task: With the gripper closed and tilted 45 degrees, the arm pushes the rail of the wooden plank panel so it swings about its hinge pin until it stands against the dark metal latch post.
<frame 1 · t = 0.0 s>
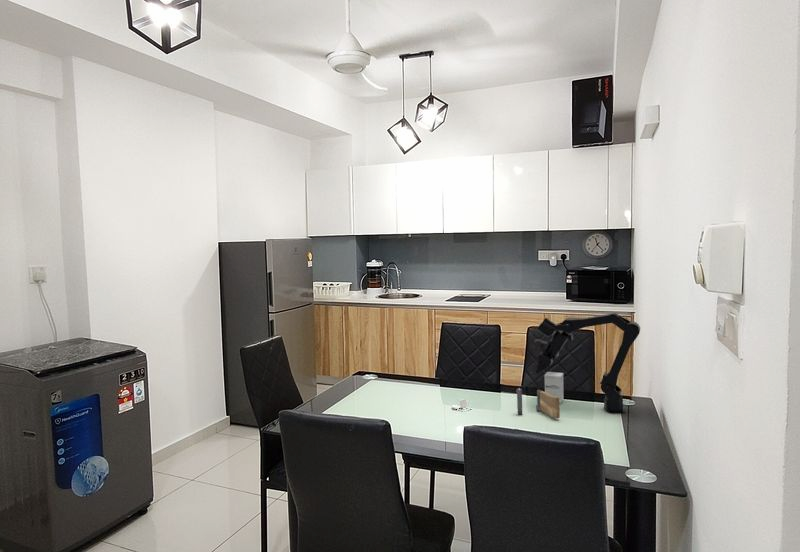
hand: (538, 370, 226), 15 cm above the table, tool tilted 35°, fingers open, 9 cm apart
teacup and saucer: (459, 408, 226), on the table
hinge base: (539, 410, 216), on the table
supplement box: (554, 401, 229), on the table
wooden plank panel: (547, 402, 210), point 5 cm above the table, hinge at 0.0°
latch post: (520, 414, 212), on the table
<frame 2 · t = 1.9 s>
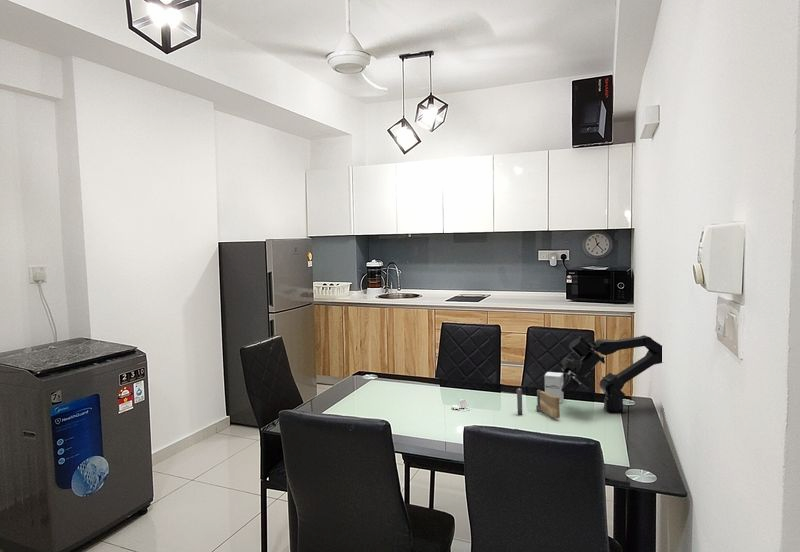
hand: (562, 391, 211), 10 cm above the table, tool tilted 45°, fingers closed
nothing on the table moved.
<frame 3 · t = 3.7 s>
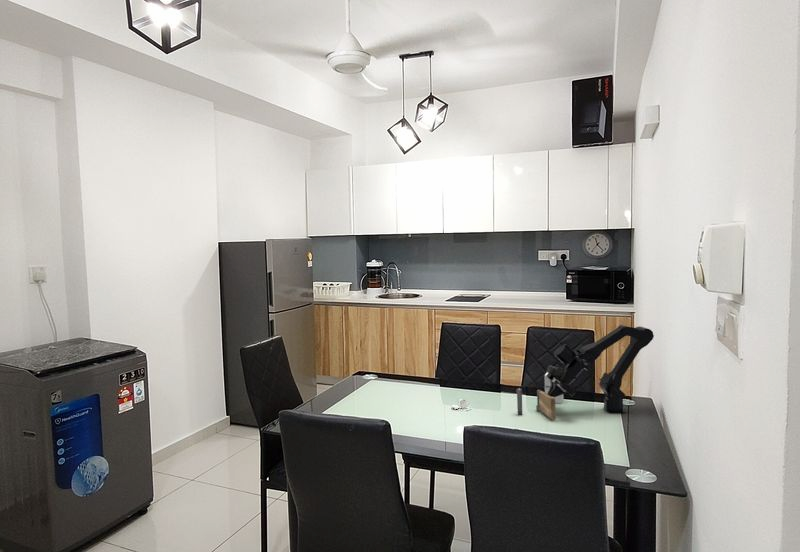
hand: (546, 398, 210), 7 cm above the table, tool tilted 45°, fingers closed, pressing on wooden plank panel
wooden plank panel: (545, 403, 210), point 5 cm above the table, hinge at 8.2°, touching gripper
everything else where it was.
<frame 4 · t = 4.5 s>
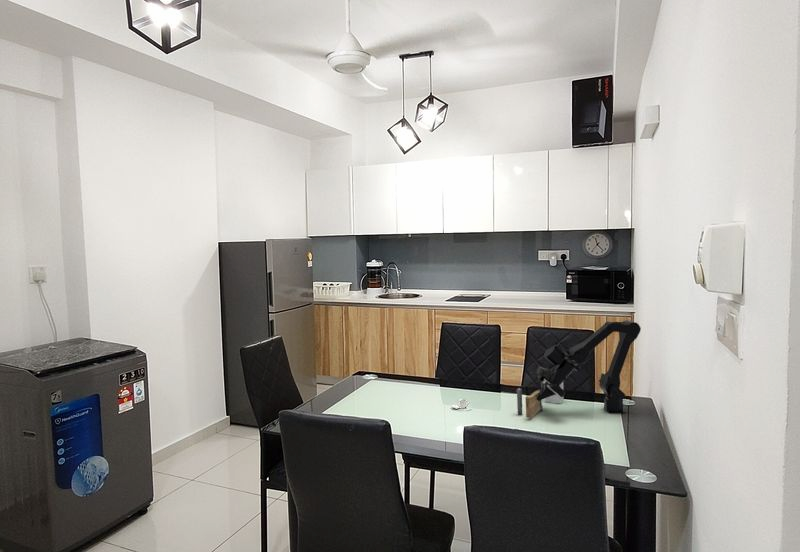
hand: (537, 400, 210), 6 cm above the table, tool tilted 45°, fingers closed
wooden plank panel: (534, 402, 211), point 5 cm above the table, hinge at 50.9°, touching gripper
everything else where it was.
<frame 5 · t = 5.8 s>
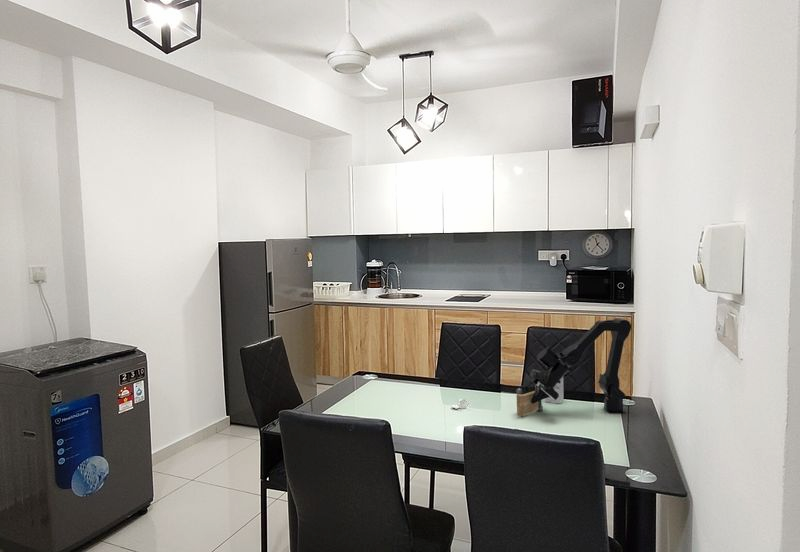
hand: (531, 402, 210), 5 cm above the table, tool tilted 40°, fingers closed
wooden plank panel: (529, 401, 212), point 5 cm above the table, hinge at 69.5°, touching gripper
everything else where it was.
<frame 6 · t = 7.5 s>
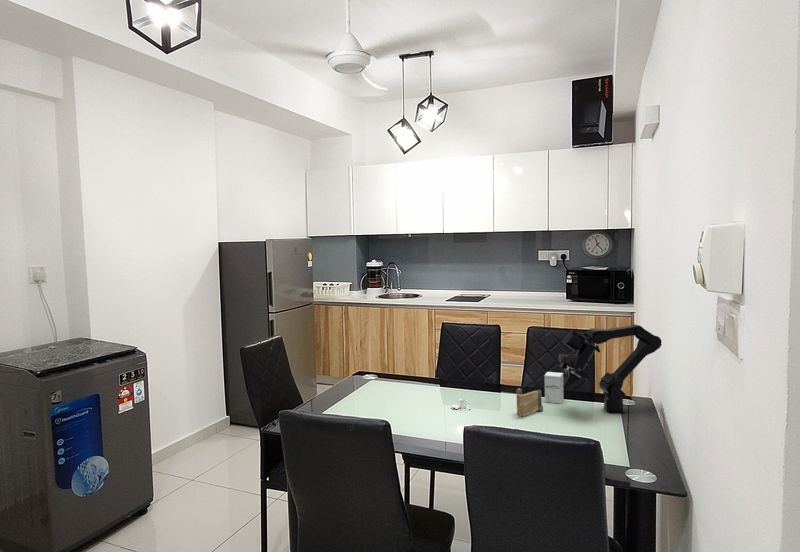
hand: (564, 387, 209), 12 cm above the table, tool tilted 35°, fingers closed
wooden plank panel: (529, 401, 212), point 5 cm above the table, hinge at 69.5°
everything else where it was.
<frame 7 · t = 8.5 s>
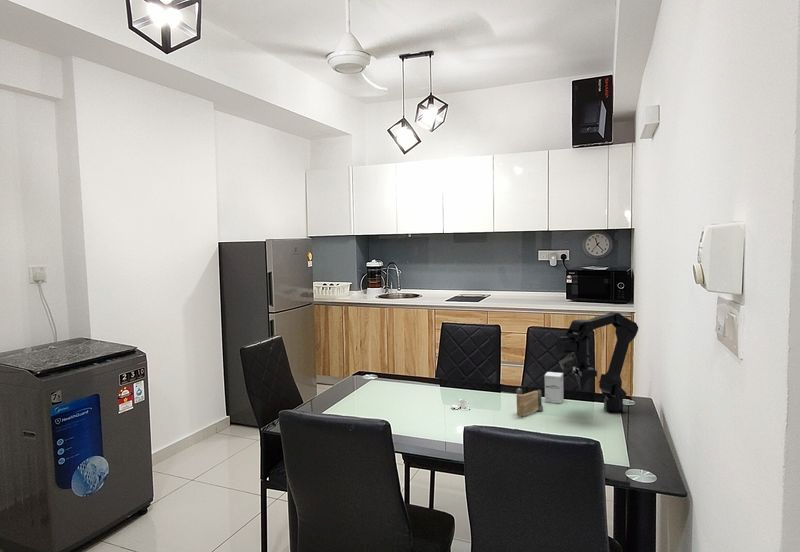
hand: (581, 388, 205), 12 cm above the table, tool pointing down, fingers closed
nothing on the table moved.
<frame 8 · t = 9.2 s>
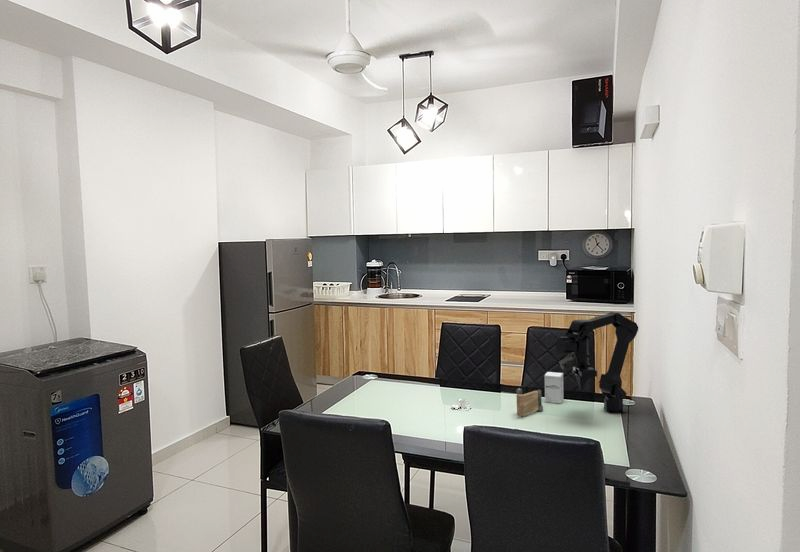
hand: (581, 388, 205), 12 cm above the table, tool pointing down, fingers closed
nothing on the table moved.
at the end: wooden plank panel at +70° (first picture: +0°) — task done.
